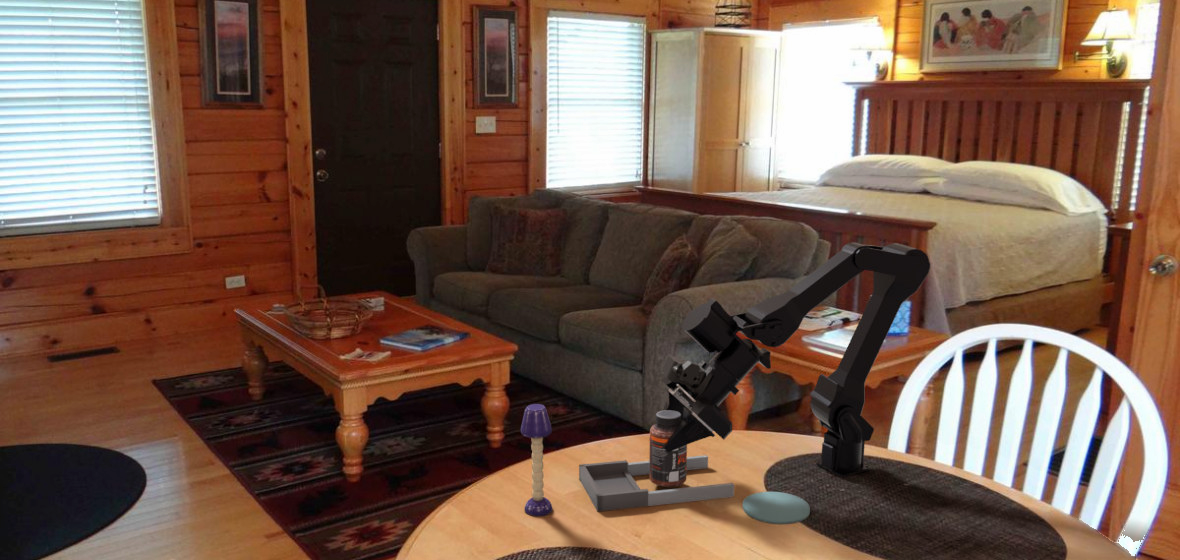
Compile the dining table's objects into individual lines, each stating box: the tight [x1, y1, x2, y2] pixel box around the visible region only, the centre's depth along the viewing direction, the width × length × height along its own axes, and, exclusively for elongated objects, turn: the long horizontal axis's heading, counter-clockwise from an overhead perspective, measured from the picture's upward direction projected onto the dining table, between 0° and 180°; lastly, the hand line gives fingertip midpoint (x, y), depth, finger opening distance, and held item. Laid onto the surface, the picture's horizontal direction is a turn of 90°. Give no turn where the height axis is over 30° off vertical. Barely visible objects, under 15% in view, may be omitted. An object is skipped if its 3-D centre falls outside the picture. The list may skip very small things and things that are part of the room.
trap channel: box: [578, 454, 735, 513], centre depth 152 cm, size 22×12×2 cm, turn 103°
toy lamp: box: [520, 403, 553, 517], centre depth 143 cm, size 5×5×17 cm
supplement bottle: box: [648, 410, 688, 488], centre depth 152 cm, size 6×6×11 cm
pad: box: [742, 491, 811, 525], centre depth 145 cm, size 10×10×1 cm
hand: (659, 442), depth 151 cm, fingers closed on supplement bottle, 6 cm apart
